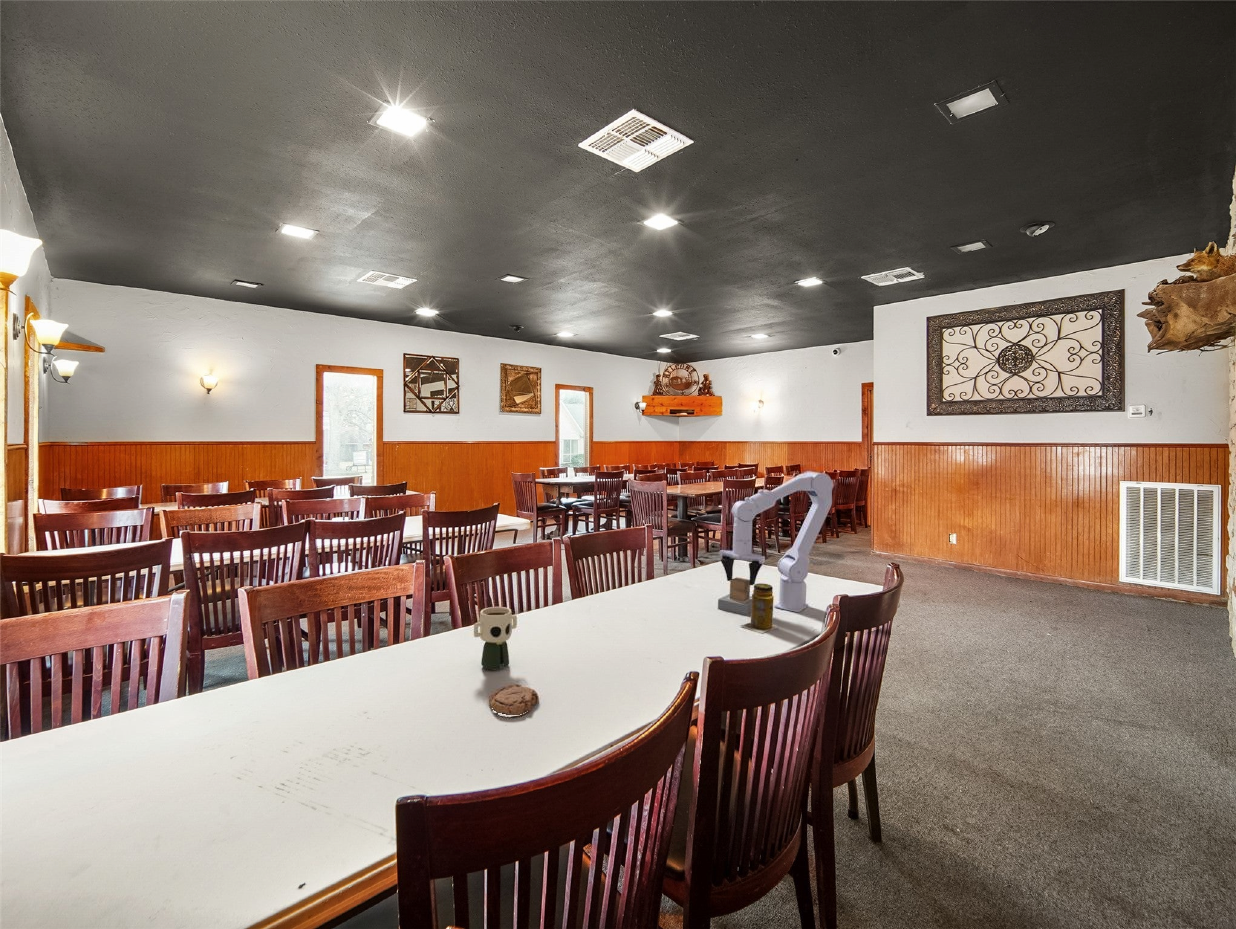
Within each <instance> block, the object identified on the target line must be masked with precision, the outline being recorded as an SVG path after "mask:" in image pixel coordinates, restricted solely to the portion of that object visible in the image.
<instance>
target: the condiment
mask: <svg viewBox="0 0 1236 929" xmlns="http://www.w3.org/2000/svg"><path fill="white" fill-rule="evenodd" d="M752 592H753V593H752V594H751V597H752V605H751V614H750V622H747V623H745V624H741V625H740V627H742V628H745V629H747V630H751V631H752V632H756V633H760V634H763V633H766V632H768V631H772V630H774V629H776V628H778V627H779V626H778V625H774V624H773V621H774V620H773V615H774V595H773V586H772V585H771V584H768V583H755V584H754V585H753V590H752Z"/></svg>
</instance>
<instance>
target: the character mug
mask: <svg viewBox="0 0 1236 929" xmlns="http://www.w3.org/2000/svg"><path fill="white" fill-rule="evenodd" d="M512 613H513V612H512V609H511V608H510V607H505V606H504V607H503V606H491V607H486V608H483V609H481V610H480V612H479V622H476V623H474V624H473V636H474V638H480V640H482V641H484V644H483V646H482V647H483V648H482V655H481V663H480V664H481V666H482V667H483V668H484V669H486V670H492V671H495V670H500V669H501V666H502V665H503V669H506V668H507V667H508V666H509V665H510V658H509V657H510V655H509V649H508V648H509V647H508V643H507V641H508V640H509V639H510V638H511V636H512V632H513V630H514V629H516V628H517V627H518V626H517V624H518V621H517V620H518V617H517V614H512Z"/></svg>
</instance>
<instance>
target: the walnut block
mask: <svg viewBox="0 0 1236 929" xmlns="http://www.w3.org/2000/svg"><path fill="white" fill-rule="evenodd" d="M729 583H730V584H729V594H730V599H733V600H737V601H742V602H744V601H746V600H748V599H750V595H751V585H750V578H749V579H747V578H743V577H738V576H737V577H734V578H732V580H730V581H729Z"/></svg>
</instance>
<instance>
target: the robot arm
mask: <svg viewBox="0 0 1236 929" xmlns="http://www.w3.org/2000/svg"><path fill="white" fill-rule="evenodd" d="M834 486H835V484H834V482H833V480H832V479H831V477H830V476H829V475H828V474H827V473H825V472H816V471H812V470H808V471H804V472H803V473H800V474H797V475H796V476H794V477H793V478H791V479H789V480H788V481H786V482H784V483H782V484H780V485H779V486H777V487H775V488H774V489H772V490H768V489H759V490H757V493H755V494H754V495H752V496H750V497H749V496H747V497H745V498H744V500H738V501H736V502H735V503H734V504H733V506H732V507H731V509H730V512H731V515H732V516H733V529H732V531H733V534H732V550H727V549H726V550H725V549H721V550H719V553H718V555H719V556H718V557H720V562H721V564H722V567H723V569H724V571H725V576H726V579H727V580H726V581H728V582H730V580H732V579H733V575H734V574H733V573H734V572H733V571H734V570H733V569H734V563H735V560H740V561H747V562H749V563H748V568H749V580H750V586H754V585H755V584H756V580H757V576H758V573H759V572H760V569H761V568H762V566H763V564H765V563H766V562H765V561H766V556H765V555H764V556H763V555H758V554H755V553H752V543H753V541H752V540H753V539H752V538H753V520H754V519H755V517H756V515H759V514H761V513H762V512H764V511H766V510H769V509H771V508H773V507H774V506H775V505H776V502H777V501H778V500H779V499H782V498H784V497H787V496H788V495H791V494H793V493H795V492H798V491H804V492H806V494H808V496H809V498H810V501H811V502H812V504H811V506H810V507H809V508H810V509H809V511H808V512H807V515H806V517H805V519H804V521H803V523H802V526H801V527H800V530H799V532H798V535H797V536H796V538H795V541H794V542H793V545H792V547H790V548H789V549H787V550H786V551H785V554H784V555H783V556H782V557H781V558H779V560H778V562H777V566H776V567H777V571H778V572H779V573H780V577H779V578H780V579H779V593H778V594H779V597H778V598H779V599H778V603H776V604H775V605H773V608H777V609H782V610H785V611H789V612H790V611H791V612H796V613H800V612H802V611H803V610H804V609H805V608H807V607H809V603H806V602H807V583H806V582H805V580H806V578H807V576H808V574H809V565H810V563H811V561H810V556H809V554H810V552H811V550H812V548H813V547H814V543H815V542H816V539H817V537H818V535H819V533H820V531H821V528H822V527H823V525H824V522H825V520H826V518H827V516H828V513H829V511H830V509H831V507H832V504H833V494H832V493H833V489H834Z"/></svg>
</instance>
